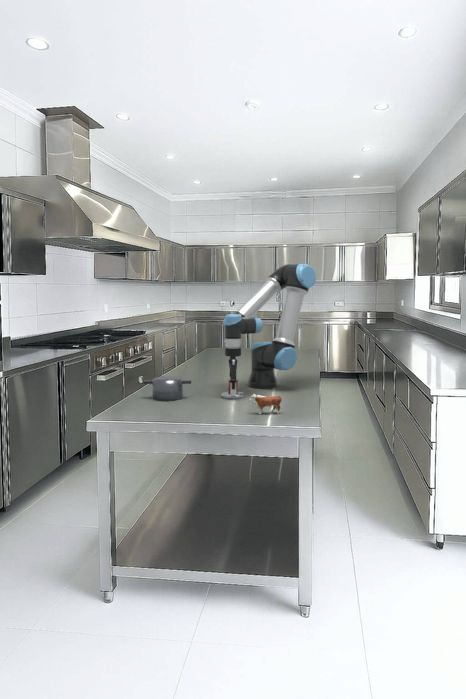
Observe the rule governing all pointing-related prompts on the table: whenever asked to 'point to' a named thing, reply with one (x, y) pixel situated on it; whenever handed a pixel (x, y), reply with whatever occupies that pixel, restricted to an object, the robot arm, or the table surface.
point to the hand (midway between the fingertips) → (232, 393)
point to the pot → (167, 388)
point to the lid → (227, 396)
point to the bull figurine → (266, 402)
